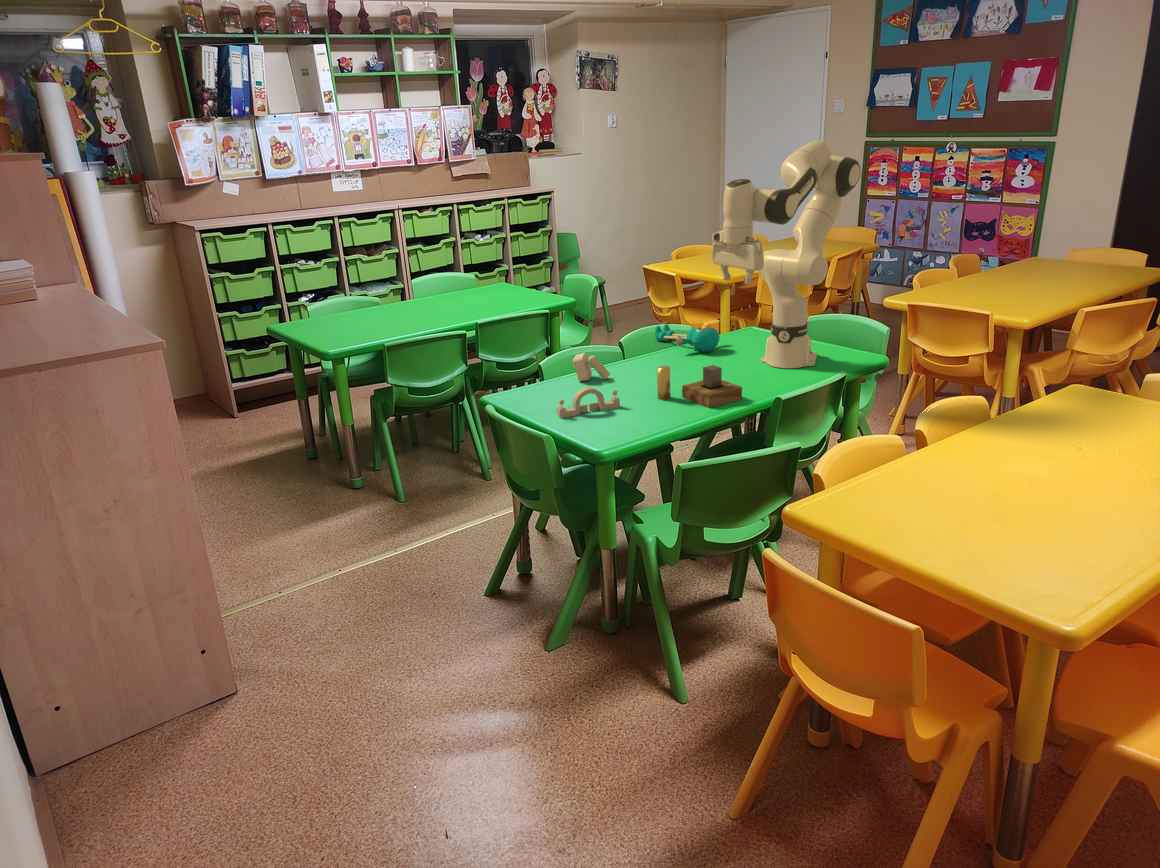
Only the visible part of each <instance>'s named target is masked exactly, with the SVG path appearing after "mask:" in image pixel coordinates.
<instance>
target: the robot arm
mask: <svg viewBox="0 0 1160 868" xmlns="http://www.w3.org/2000/svg"><path fill="white" fill-rule="evenodd" d="M780 177H781V181H782V182H783V184H784V185H785V186H786V187H787V188H781V189H770V188H769V189H767V188H766V189H763V188H759V187H757V186H754V185H753V182H752V181H751V180H750V179H748V178H739V179H735V180H731V181H730V182H728V183H726V185H725V187H724V188H725V189H724V194H723V203H722V204H723V206H722V207H723V208H722V211H723V216H724V221H723V224H722V230H719V231H717V232H714V233H713V234H712V235H711V239H712V244H711V261H712V263H713V264H714V265H719V266H720V270H721V272H722V277H723V278H722V279H723V280H725V281H731V275H732V274H731V273H729V268H737V269H742V270H745V273H746V275H745V277H744V278H743V284H744V285H751V284H752V278H753V276H754V275H755V272H756V271H758V274H759V276H760V277H761V278H762V279H763V280H764V282H765V283H766V285H767V288H768V289H769V292H770V294H771V299H772V300H771V301H772V323H771V326H770V330H771V331H770V333H771V335H770V336H768V337H767V338H766V346H765V355H764V356H762V357H761V359H760V361H761V362H762V363H763V362H764V363H765V364H767V365H769V366H771V367H773V368H779V369H799V368H805V367H814V366H816V362H817V357H818V352H816V351H813V350H811V349H812V340H811V338H810V337H809V335H808V325H809V323H808V321H807V309H808V308H807V307H808V302H807V300H806V298H805V297H804V295H802V294H801V292H799V290H798V288H797V286H803V287H805V286H815V285H820V284H821V283H822V282H824V280H825V279H826V277H827V275H828V271H829V270H828V269H829V265H828V261H827V259H826V257H825V256H824V253H823V251H824V250H823V249H824V244H825V241H826V239H827V237H828V235H829V233H830V231H831V229H832V227H833V226H834V224H835V222H836V219H837V217H838V214H839V211H840V209H841V205H842V202H843V197H846V196H847V195H848V194H849V193H850V192H851V191H852V190H854V188H855V187H856V186H857V184H858V183H859V181H860V177H861V165H860V163H859V161H858V160H856V159H854V158H852V157H848V156H846V157H844V156H840V155H835V154H834V155H833V154H832V152H831V149H830V147H829V146H828V144H826V143H825V142H823V141H822V140H821V141H820V140H813V141H810V142H808V143H806V144H804V145H802V146H801V147H799V148H797V149H796V150H794V151H793V152H792V153H791V154H789V155H788V156H787V157H786V158H785V159H784V161H783V162H782V164H781V167H780ZM814 189H815V193H814V194H813V195H812V196H811V198H810V200H809V201H808V202H807V204H806V205H805V207H804V209H803V210H802V213H801V214H800V216H799V218H798V220H797V221H796V224H795V225H794V227H793V230H792V231H793V233H792V235H793V237H794V240H795V241H796V242H797V247H796V248H795V249H794V250H792V249H783V248H774V249H767V250H764V249H763V244H762V242H761V241H760V239H759V238H757V237H755V238H754V236H753V235H754V231H753V229H754V224H753V222H754V223H755V222H756V223H766V224H767V223H768V224H770V223H771V224H775V225H780V226H781V225H786V224H788V223H789V222H791V220H792V219H793V218H794V216H795V214H796V212H797V210H798V208H799V207H800V206H801V205H802V203H804V201H805V199H807V198H808V196H809V195H810V194H811V192H812V191H813V190H814ZM796 285H797V286H796Z"/></svg>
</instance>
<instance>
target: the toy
mask: <svg viewBox="0 0 1160 868" xmlns="http://www.w3.org/2000/svg"><path fill="white" fill-rule="evenodd" d="M654 337H655V340H656V341H657V342H659V343H660V342H665V341H666V340H675V341H676V342H674V345H676V346H677V347H679V346H684V345H686V344H688V345H690V346H691V347H693V348H694V349H695V350H696V351H698V352H701V353H709V352H712V351H713V350H714V349H715V348H716V347H717V346H718V344H719V342H720V332H719V330H718V329H716V327H712V326H710V325H706V326H701V327H692V328H690V329H689V330H688V332H687V333H686V334H682V333H681V334H679V333H675V332H674V331H673V330H671V328H670V325H669V324H668V323H665V324H664V325H663V327H662V328H661V326H660V325H656V327H655V328H654Z"/></svg>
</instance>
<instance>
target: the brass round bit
mask: <svg viewBox="0 0 1160 868" xmlns="http://www.w3.org/2000/svg"><path fill="white" fill-rule="evenodd" d="M656 370H657V371H656V374H657V375H656V377H657V379H656V380H657V399H658V400H660V401H669V400H670V399H671V366H668V365H660V366H657V369H656Z"/></svg>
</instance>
